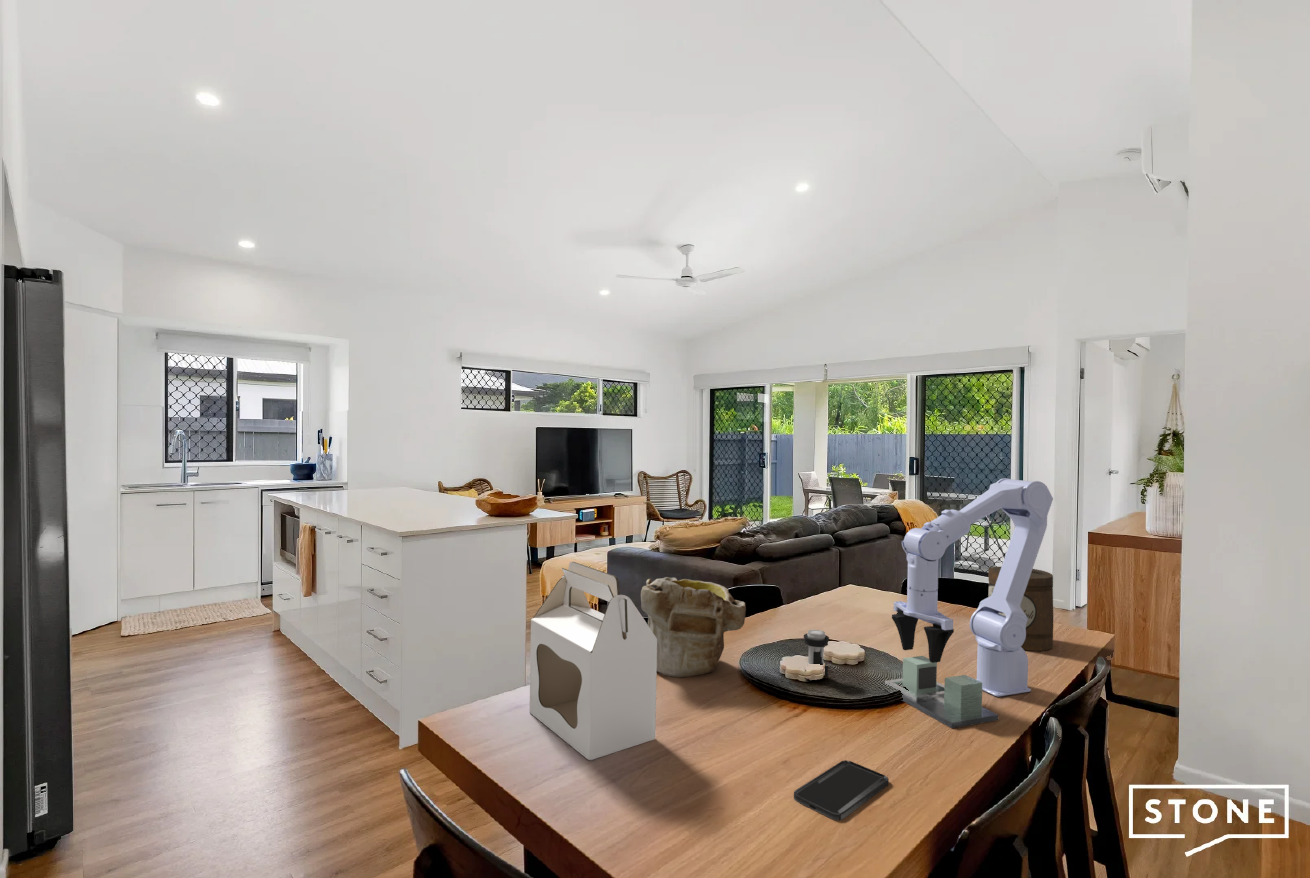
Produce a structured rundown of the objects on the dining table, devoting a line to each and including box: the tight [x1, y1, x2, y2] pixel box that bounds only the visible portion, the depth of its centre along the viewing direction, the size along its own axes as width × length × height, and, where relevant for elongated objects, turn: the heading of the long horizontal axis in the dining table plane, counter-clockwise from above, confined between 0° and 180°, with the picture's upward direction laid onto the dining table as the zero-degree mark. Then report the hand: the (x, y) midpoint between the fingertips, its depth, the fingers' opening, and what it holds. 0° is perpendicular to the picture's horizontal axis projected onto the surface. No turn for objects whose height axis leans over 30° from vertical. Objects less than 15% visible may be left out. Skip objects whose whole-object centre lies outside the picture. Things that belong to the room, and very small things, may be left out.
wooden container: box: [987, 566, 1054, 652], centre depth 169 cm, size 15×15×22 cm
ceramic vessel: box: [640, 576, 747, 678], centre depth 146 cm, size 23×24×25 cm
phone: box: [793, 759, 890, 821], centre depth 97 cm, size 8×1×15 cm
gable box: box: [529, 561, 658, 761], centre depth 116 cm, size 22×13×28 cm, turn 36°
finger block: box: [902, 655, 938, 695], centre depth 133 cm, size 4×5×6 cm
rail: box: [885, 674, 999, 729], centre depth 129 cm, size 20×11×7 cm, turn 20°
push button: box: [803, 629, 830, 677], centre depth 140 cm, size 7×5×10 cm
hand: (921, 655), depth 133 cm, fingers open, 7 cm apart
